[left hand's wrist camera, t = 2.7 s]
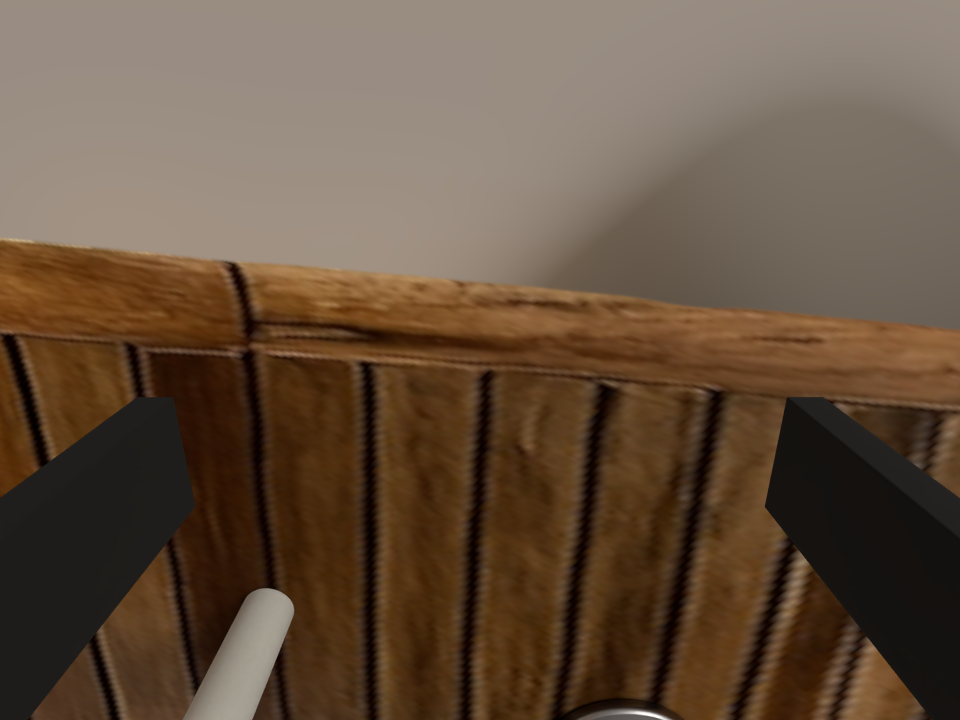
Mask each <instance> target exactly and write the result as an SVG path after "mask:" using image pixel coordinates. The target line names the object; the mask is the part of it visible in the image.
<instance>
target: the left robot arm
mask: <svg viewBox="0 0 960 720" xmlns="http://www.w3.org/2000/svg"><path fill="white" fill-rule="evenodd" d="M194 508H195V503H194V498H193V493H192V489H191V484H190V479H189V474H188V469H187V464H186V459H185V454H184V449H183V444H182V440H181V435H180V430H179V425H178V420H177V415H176V410H175V405H174V400H173V397H137V398H136V399H134V400H133V401H131V402H130V403H129V404H127V405H126V406H125V407H123V408H122V409H121V410H119V411H118V412H117V413H115V414H114V415H112V416H111V417H110V418H108V419H107V420H106V421H104V422H103V423H102V424H100V425H99V426H98V427H96V428H95V429H93V430H92V431H91V432H89V433H88V434H87V435H85V436H84V437H83V438H81V439H80V440H78V441H77V442H76V443H74V444H73V445H72V446H70V447H69V448H68V449H66V450H65V451H64V452H62V453H61V454H59V455H58V456H57V457H55V458H54V459H53V460H51V461H50V462H49V463H47V464H46V465H45V466H43V467H42V468H40V469H39V470H38V471H36V472H35V473H34V474H32V475H31V476H30V477H28V478H27V479H26V480H24V481H23V482H21V483H20V484H19V485H17V486H16V487H15V488H13V489H12V490H11V491H9V492H8V493H6V494H5V495H4V496H2V497H1V498H0V720H28V719H29V717H30V716H31V715H32V713H33V712H34V711H35V710H36V708H37V707H38V706H39V705H40V703H41V702H42V701H43V699H44V698H45V697H46V696H47V694H48V693H49V692H50V691H51V689H52V688H53V687H54V686H55V684H56V683H57V682H58V680H59V679H60V678H61V677H62V675H63V674H64V673H65V672H66V670H67V669H68V668H69V666H70V665H71V664H72V663H73V661H74V660H75V659H76V658H77V656H78V655H79V654H80V652H81V651H82V650H83V649H84V647H85V646H86V645H87V644H88V642H89V641H90V640H91V639H92V637H93V636H94V635H95V633H96V632H97V631H98V630H99V628H100V627H101V626H102V625H103V623H104V622H105V621H106V619H107V618H108V617H109V616H110V614H111V613H112V612H113V611H114V609H115V608H116V607H117V605H118V604H119V603H120V602H121V600H122V599H123V598H124V597H125V595H126V594H127V593H128V592H129V590H130V589H131V588H132V586H133V585H134V584H135V583H136V581H137V580H138V579H139V578H140V576H141V575H142V574H143V572H144V571H145V570H146V569H147V567H148V566H149V565H150V564H151V562H152V561H153V560H154V558H155V557H156V556H157V555H158V553H159V552H160V551H161V550H162V548H163V547H164V546H165V544H166V543H167V542H168V541H169V539H170V538H171V537H172V536H173V534H174V533H175V532H176V531H177V529H178V528H179V527H180V525H181V524H182V523H183V522H184V520H185V519H186V518H187V517H188V515H189V514H190V513H191V511H192V510H193V509H194ZM765 508H766V509H767V510H768V511H769V513H770V514H771V515H772V517H773V518H774V519H775V520H776V522H777V523H778V524H779V525H780V527H781V528H782V529H783V531H784V532H785V533H786V534H787V536H788V537H789V538H790V539H791V541H792V542H793V543H794V544H795V546H796V547H797V548H798V550H799V551H800V552H801V553H802V555H803V556H804V557H805V558H806V560H807V561H808V562H809V564H810V565H811V566H812V567H813V569H814V570H815V571H816V572H817V574H818V575H819V576H820V578H821V579H822V580H823V581H824V583H825V584H826V585H827V586H828V588H829V589H830V590H831V592H832V593H833V594H834V595H835V597H836V598H837V599H838V600H839V602H840V603H841V604H842V605H843V607H844V608H845V609H846V611H847V612H848V613H849V614H850V616H851V617H852V618H853V619H854V621H855V622H856V623H857V625H858V626H859V627H860V628H861V630H862V631H863V632H864V633H865V635H866V636H867V637H868V639H869V640H870V641H871V642H872V644H873V645H874V646H875V647H876V649H877V650H878V651H879V652H880V654H881V655H882V656H883V658H884V659H885V660H886V661H887V663H888V664H889V665H890V666H891V668H892V669H893V670H894V672H895V673H896V674H897V675H898V677H899V678H900V679H901V680H902V682H903V683H904V684H905V686H906V687H907V688H908V689H909V691H910V692H911V693H912V694H913V696H914V697H915V698H916V699H917V701H918V702H919V703H920V705H921V706H922V707H923V708H924V710H925V711H926V712H927V713H928V715H929V716H930V717H931V719H932V720H960V498H959V497H958V496H956V495H955V494H954V493H952V492H951V491H949V490H948V489H947V488H945V487H944V486H943V485H941V484H940V483H939V482H937V481H936V480H934V479H933V478H932V477H930V476H929V475H928V474H926V473H925V472H924V471H922V470H921V469H920V468H918V467H917V466H915V465H914V464H913V463H911V462H910V461H909V460H907V459H906V458H905V457H903V456H902V455H901V454H899V453H898V452H896V451H895V450H894V449H892V448H891V447H890V446H888V445H887V444H886V443H884V442H883V441H882V440H880V439H879V438H877V437H876V436H875V435H873V434H872V433H871V432H869V431H868V430H867V429H865V428H864V427H862V426H861V425H860V424H858V423H857V422H856V421H854V420H853V419H852V418H850V417H849V416H848V415H846V414H845V413H843V412H842V411H841V410H839V409H838V408H837V407H835V406H834V405H833V404H831V403H830V402H829V401H827V400H826V399H824V398H823V397H787V400H786V405H785V410H784V415H783V420H782V425H781V430H780V435H779V440H778V444H777V449H776V454H775V459H774V464H773V469H772V474H771V479H770V484H769V489H768V493H767V498H766V503H765ZM561 720H683V719H682V718H681V717H680V716H678V715H677V714H676V713H674V712H672V711H671V710H669V709H667V708H665V707H663V706H660V705H657V704H654V703H650V702H646V701H640V700H628V699H621V700H609V701H603V702H598V703H594V704H591V705H588V706H585V707H583V708H580V709H578V710H576V711H574V712H572V713H570V714H569V715H567V716H565V717H564V718H563V719H561Z"/></svg>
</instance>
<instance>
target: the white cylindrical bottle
mask: <svg viewBox="0 0 960 720" xmlns="http://www.w3.org/2000/svg"><path fill="white" fill-rule="evenodd" d="M293 615H294V607H293V604H292V602H291V600H290V599H289V598H288V597H287V596H286V595H285V594H283V593H282V592H280V591H277V590H274V589H269V588H264V589H258V590H255V591H253V592H251V593H250V594H249V595H248V596H247V597H246V599H245V600H244V602H243V604H242V606H241V608H240V610H239V612H238V614H237V616H236V618H235V620H234V622H233V624H232V625H231V627H230V629H229V631H228V633H227V635H226V637H225V639H224V641H223V643H222V645H221V647H220V649H219V651H218V653H217V654H216V656H215V658H214V660H213V662H212V664H211V666H210V668H209V670H208V672H207V674H206V676H205V678H204V680H203V682H202V683H201V685H200V687H199V689H198V691H197V693H196V695H195V697H194V699H193V701H192V703H191V705H190V707H189V709H188V711H187V712H186V714H185V716H184V718H183V720H252V719H253V716H254V714H255V711H256V708H257V706H258V703H259V701H260V698H261V696H262V693H263V691H264V688H265V686H266V683H267V681H268V678H269V676H270V673H271V671H272V668H273V666H274V663H275V661H276V658H277V656H278V653H279V650H280V648H281V645H282V643H283V640H284V638H285V635H286V633H287V630H288V628H289V625H290V623H291V620H292V618H293Z"/></svg>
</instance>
